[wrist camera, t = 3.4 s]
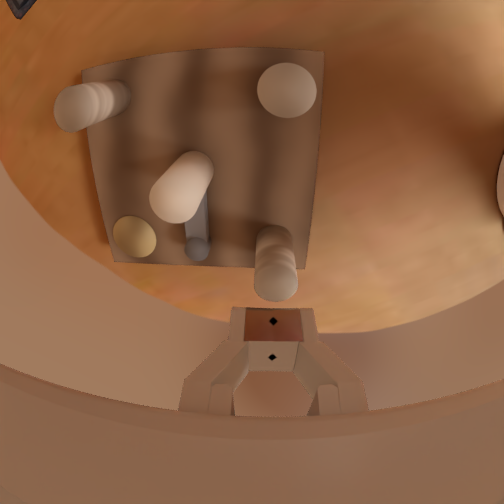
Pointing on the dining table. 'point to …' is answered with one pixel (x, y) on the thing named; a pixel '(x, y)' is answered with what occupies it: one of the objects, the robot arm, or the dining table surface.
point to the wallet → (20, 7)
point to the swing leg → (186, 200)
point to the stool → (207, 153)
